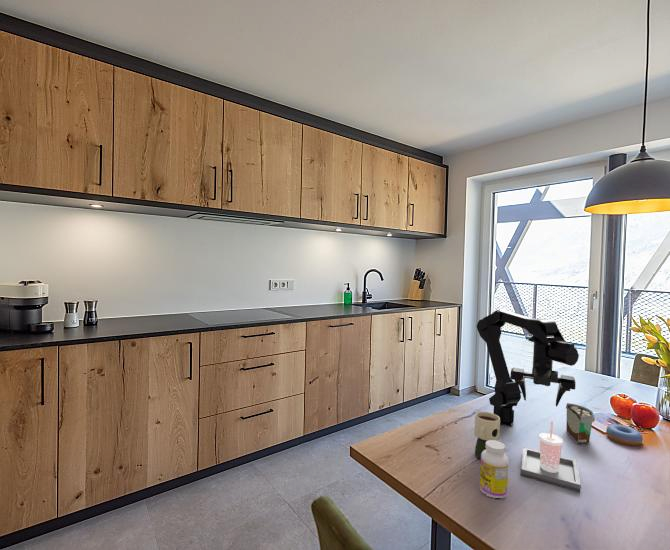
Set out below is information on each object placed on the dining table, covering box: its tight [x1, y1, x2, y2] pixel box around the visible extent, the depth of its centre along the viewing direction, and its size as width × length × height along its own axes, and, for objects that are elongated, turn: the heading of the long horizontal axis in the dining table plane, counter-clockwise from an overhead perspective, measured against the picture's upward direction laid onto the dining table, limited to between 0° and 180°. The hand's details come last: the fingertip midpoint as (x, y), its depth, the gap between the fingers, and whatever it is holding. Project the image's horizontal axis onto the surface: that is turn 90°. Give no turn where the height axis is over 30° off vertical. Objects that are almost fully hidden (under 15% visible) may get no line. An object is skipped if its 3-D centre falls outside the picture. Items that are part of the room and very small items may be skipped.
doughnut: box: [605, 423, 644, 446], centre depth 128 cm, size 10×10×5 cm
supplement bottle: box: [479, 440, 510, 499], centre depth 97 cm, size 7×7×13 cm
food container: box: [565, 402, 596, 445], centre depth 128 cm, size 12×6×10 cm, turn 168°
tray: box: [520, 447, 582, 493], centre depth 108 cm, size 14×14×2 cm
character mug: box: [473, 411, 501, 459], centre depth 114 cm, size 11×7×13 cm, turn 141°
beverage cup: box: [538, 420, 564, 473], centre depth 108 cm, size 6×6×14 cm
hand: (540, 403), depth 125 cm, fingers open, 9 cm apart
